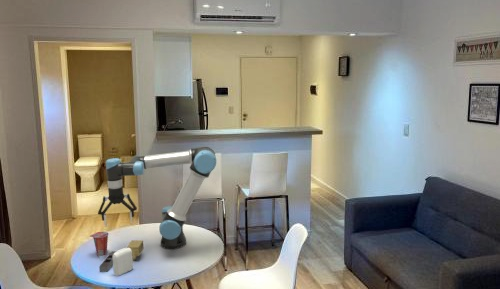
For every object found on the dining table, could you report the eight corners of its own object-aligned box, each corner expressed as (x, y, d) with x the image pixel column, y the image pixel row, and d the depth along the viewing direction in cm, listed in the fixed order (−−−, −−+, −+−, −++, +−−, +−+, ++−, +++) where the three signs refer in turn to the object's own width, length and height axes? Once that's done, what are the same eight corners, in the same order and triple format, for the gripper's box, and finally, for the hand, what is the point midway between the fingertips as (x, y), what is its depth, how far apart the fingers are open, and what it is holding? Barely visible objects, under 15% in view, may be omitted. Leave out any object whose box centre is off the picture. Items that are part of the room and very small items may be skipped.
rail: (112, 256, 229) (111, 251, 228) (119, 256, 229) (118, 251, 228) (99, 272, 211) (99, 266, 210) (107, 272, 211) (106, 266, 210)
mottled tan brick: (143, 254, 231) (143, 240, 229) (139, 261, 222) (138, 247, 220) (132, 254, 231) (131, 240, 229) (127, 261, 222) (126, 247, 220)
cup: (105, 249, 237) (104, 230, 235) (112, 254, 231) (111, 234, 229) (89, 254, 231) (88, 234, 228) (96, 259, 225) (94, 239, 223)
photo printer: (117, 276, 206) (115, 254, 204) (112, 274, 209) (110, 251, 206) (134, 269, 214) (133, 247, 211) (129, 266, 216) (128, 245, 214)
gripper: (139, 182, 228) (142, 218, 232) (91, 187, 221) (95, 224, 225) (139, 186, 221) (142, 223, 225) (90, 191, 214) (94, 229, 218)
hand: (118, 224), depth 225 cm, fingers open, 13 cm apart
